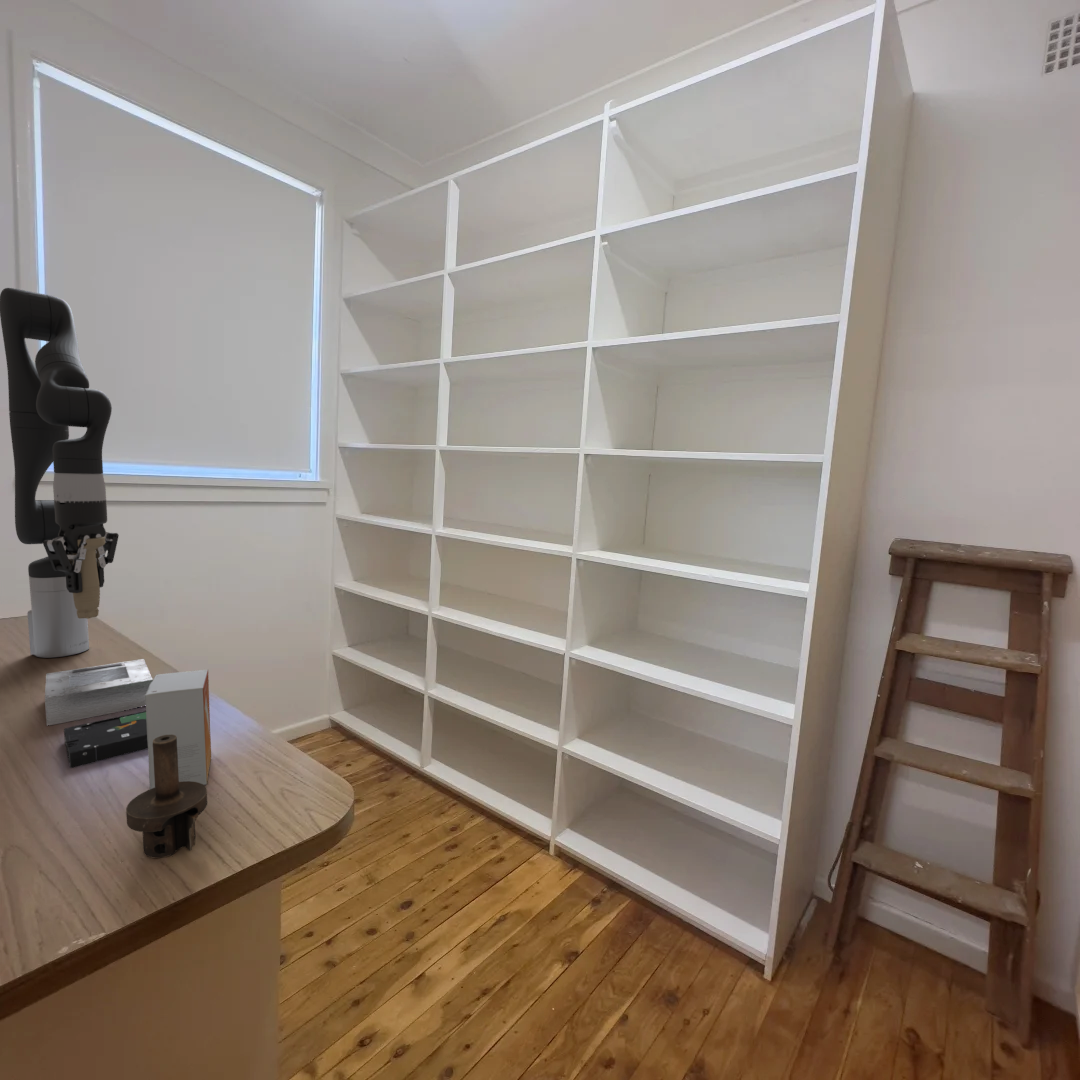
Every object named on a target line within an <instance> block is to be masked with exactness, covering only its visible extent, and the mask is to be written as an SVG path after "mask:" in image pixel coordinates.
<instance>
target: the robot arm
mask: <svg viewBox="0 0 1080 1080" xmlns="http://www.w3.org/2000/svg"><path fill="white" fill-rule="evenodd" d="M0 324H1V330H2V332H1V333H2V337H3V339H2V340H3V345H4V346H3V347H4V353H5V360H6V369H7V370H6V371H7V383H8V412H9V413H8V414H9V415H8V416H9V427H10V436H11V438H10V439H11V444H12V445H11V446H12V452H13V453H12V454H13V465H14V466H13V467H14V525H15V531H16V536H17V539H18V540H19V542H21V543H22V544H24V545H42V544H43V547H44V550H45V552H46V554H47V556H45V557H43V558H39V559H36V560H34V561H31V562H30V563H29V564H28V568H27V570H28V571H27V572H28V581H29V594H30V607H31V609H30V610H28V611H27V613H26V615H27V624H28V625H27V626H28V638H29V639H28V640H29V651H30V655H33V656H35V657H37V658H48V659H50V658H59V657H67V656H73V655H76V654H80V653H83V652H85V651H88V650H89V649H90V641H89V640H90V639H89V623H88V622H89V621H88V619H86V618H82V619H80V618H78V616H77V609H76V607H75V604H74V598H73V593H80V592H82V573H79V572H80V570H81V564H82V561H83V560H84V559H85V556H86V550H87V549H85V548H84V546H86V545H87V543H86V539H90V538H101V537H105V544H104V545H103V546H101V547H99V548H97V549H96V562H97V570H98V577H99V586H100V588H103V587H104V584H105V569H104V568H106V565H108V564H112V563H113V562H114V559H115V554H116V550H117V545H118V540H119V533H118V532H109V531H108V532H107V531H106V528H105V527H104V524H106V523H107V522H108V509H107V492H106V491H107V489H106V482H105V478H104V469H103V468H104V467H103V465H104V464H103V447H104V442H105V441H104V440H105V435H106V431H107V429H108V425H109V422H110V419H111V415H112V409H113V408H112V403H111V400H110V398H109V397H108V395H106V394H105V392H104V391H101V390H99V389H96V388H90V382H89V378H88V376H87V372H86V371H85V368H84V366H83V363H82V361H81V358H80V352H79V351H80V350H79V343H78V334H77V330H76V329H77V328H76V323H75V318H74V314H73V311H72V309H71V306H70V305H69V303H68V302H67V301H66V300H64V299H63V298H61V297H57V296H55V295H49V294H45V293H39V292H34V291H29V290H24V289H19V288H14V287H13V288H12V287H5V288H3V289H2V290H1V292H0ZM26 339H30V340H35V341H36V340H37V341H44V342H47V343H45V344H44V345H43V346H42V347H40V349H39V350H38V351H37V353H36V355H35V360H34V359H33V357H32V356H31V354H30V351H29V349H28V346H27V343H26ZM70 427H74V428H86V432H85V433H84V434H83V435H82V436H81V437H78V438H70V430H69V429H70ZM52 464H53V481H52V484H53V485H52V489H53V491H52V492H53V499H51V500H50V499H47V500H46V499H45V500H40V499H39V500H36V497H37V496H36V495H37V491H38V487H39V484H40V482H41V480H42V478H43V476H44V475H45V474H46V472H47V471H48V469H50V468H49V467H50V466H51V465H52ZM78 540H81V542H80V544H79V547H78ZM83 548H84V549H83ZM106 552H107V554H106ZM74 553H75V554H77V555H73V554H74ZM73 560H74V563H73Z"/></svg>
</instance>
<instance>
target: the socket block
mask: <svg viewBox="0 0 1080 1080" xmlns="http://www.w3.org/2000/svg"><path fill="white" fill-rule="evenodd" d="M45 675H46V676H45V689H44V706H45V720H46V727H48V725H49V726H53V725H58V724H65V723H68V722H74V721H79V720H85V719H89V718H95V717H99V716H105V715H110V714H114V713H120V712H125V711H124V710H126V711H130V710H129V709H131V710H133V709H132V708H136V709H138V708H137V707H141V706H145V705H146V702H145V695H146V693H147V691H148V688H149V685H150V684H151V682H152V681H153V679H154V678H153V677H152V675H151V673H150V670H149V668H148V665H147V664H146V661H145V659H144V658H141V659H133V660H128V661H127V660H126V661H122V662H121V661H120V662H119V661H118V662H114V663H107V664H101V665H93V666H87V667H82V668H81V667H80V668H74V669H68V670H62V671H55V672H48V673H46V674H45ZM141 708H142V707H141Z"/></svg>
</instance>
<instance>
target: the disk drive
mask: <svg viewBox="0 0 1080 1080" xmlns="http://www.w3.org/2000/svg"><path fill="white" fill-rule="evenodd" d="M63 736H64V744H65V749H66V754H67V761H68V764H69V768H70V769H72V768H76V767H80V766H85V765H89V764H93V763H97V762H100V761H105V760H108V759H112V758H116V757H119V756H124V755H128V754H131V753H132V754H133V753H135V752H140V751H143V750H148V741H147V722H146V710H144V711H138V712H135V713H130V714H125V715H120V716H116V717H111V718H107V719H101V720H97V721H92V722H89V723H83V724H78V725H73V726H70V727H64V729H63Z"/></svg>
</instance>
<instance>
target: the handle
mask: <svg viewBox="0 0 1080 1080" xmlns="http://www.w3.org/2000/svg"><path fill="white" fill-rule="evenodd" d="M80 542H81V540H78V547H79V544H80ZM86 543H87V545H86V546H84V548H85V549H87V550H86V556H85V559H84V560H83V561H82V564H81V570H80V572H79V573H82V592H80V593H73V598H74V604H75V607H76V609H77V616H78V618H80V619H82V618H86V619H87V620H88V619H91V618H96V617H98V616H99V612H100V610H99V607H100V602H101V601H100V599H101V597H100V596H101V590H100V586H99V577H98V570H97V562H96V549H97V548H99V547H101V546H103V545H104V544H105V537H101V538H90V539H86ZM84 548H83V549H84ZM73 555H77V554H75V553H74V554H73ZM73 563H74V560H73Z"/></svg>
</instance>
